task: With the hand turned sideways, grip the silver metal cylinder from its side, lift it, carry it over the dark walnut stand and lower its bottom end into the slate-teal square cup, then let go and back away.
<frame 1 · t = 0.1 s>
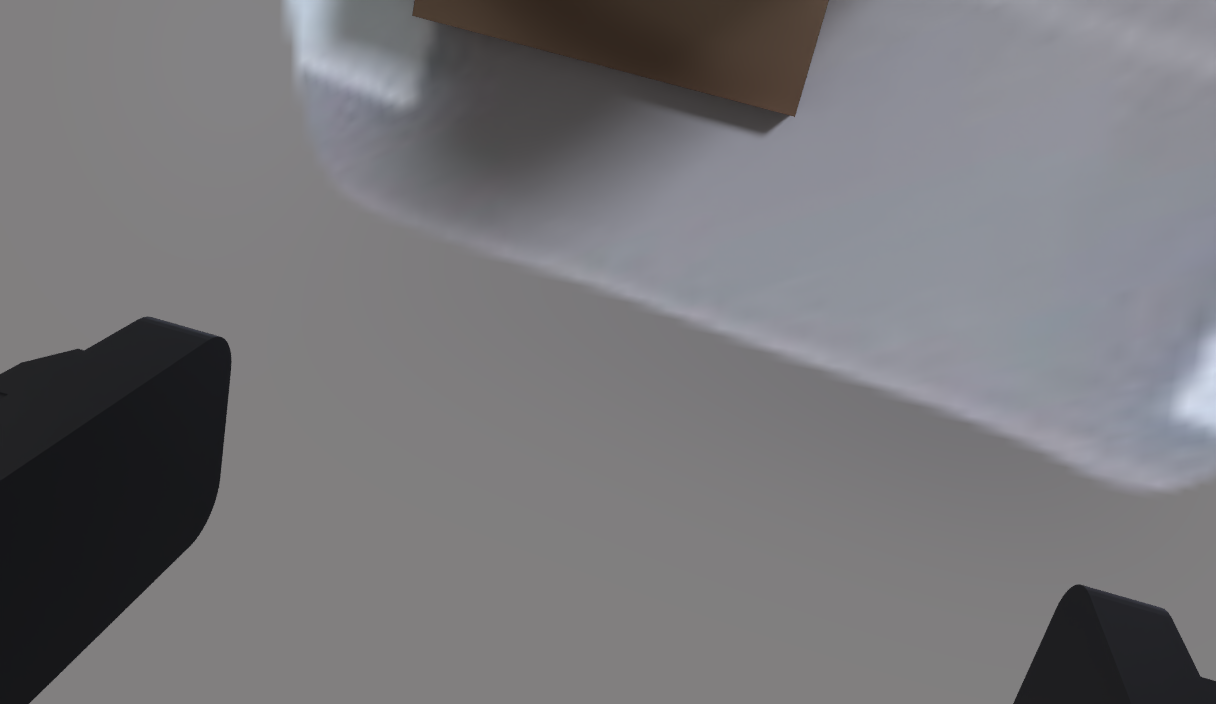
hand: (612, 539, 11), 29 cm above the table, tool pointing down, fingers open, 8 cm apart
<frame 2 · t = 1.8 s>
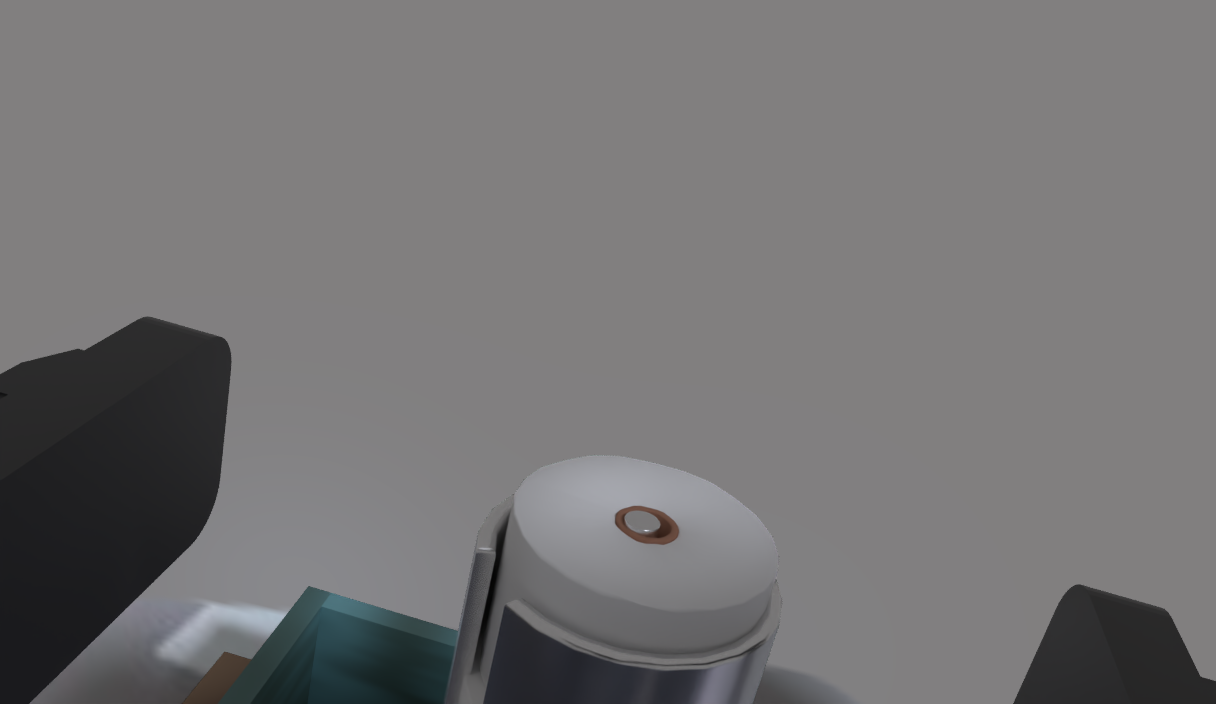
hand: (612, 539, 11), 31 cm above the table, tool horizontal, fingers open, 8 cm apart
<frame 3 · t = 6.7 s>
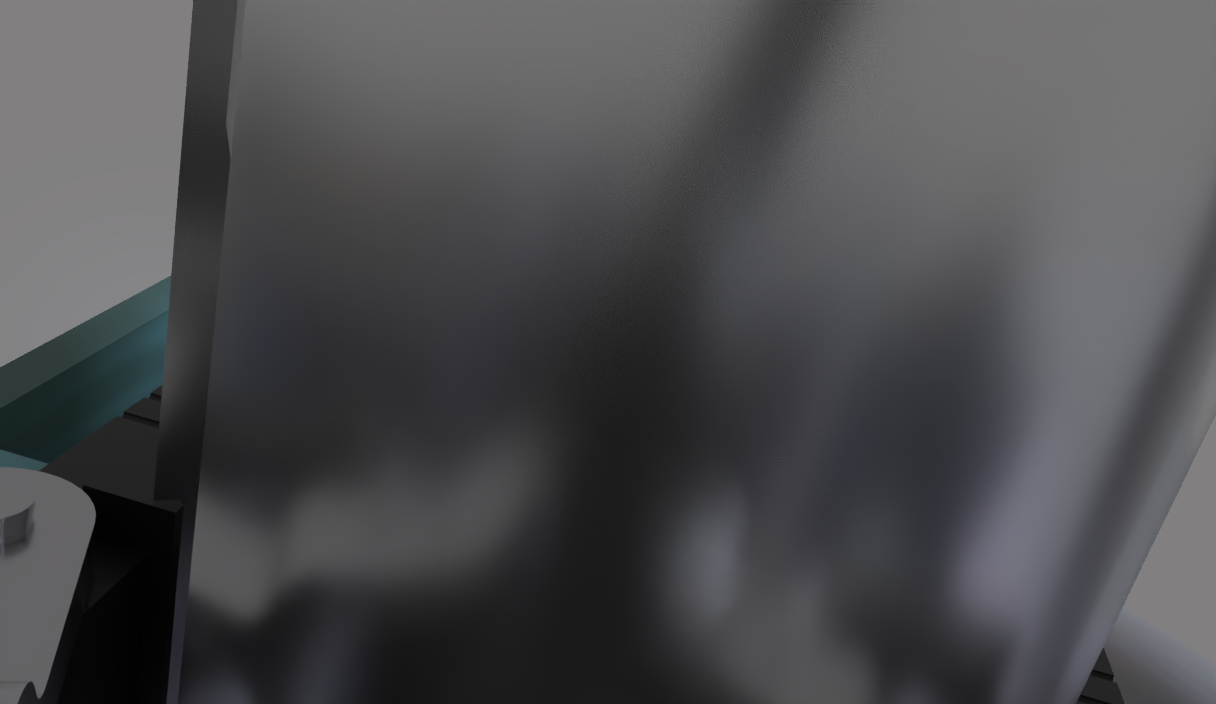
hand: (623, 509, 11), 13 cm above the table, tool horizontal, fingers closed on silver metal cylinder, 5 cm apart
cup stand: (237, 683, 26), on the table
when the fingers open (15 cm above the table, at t = 12.6 s): silver metal cylinder stays where it is, resting on cup stand.
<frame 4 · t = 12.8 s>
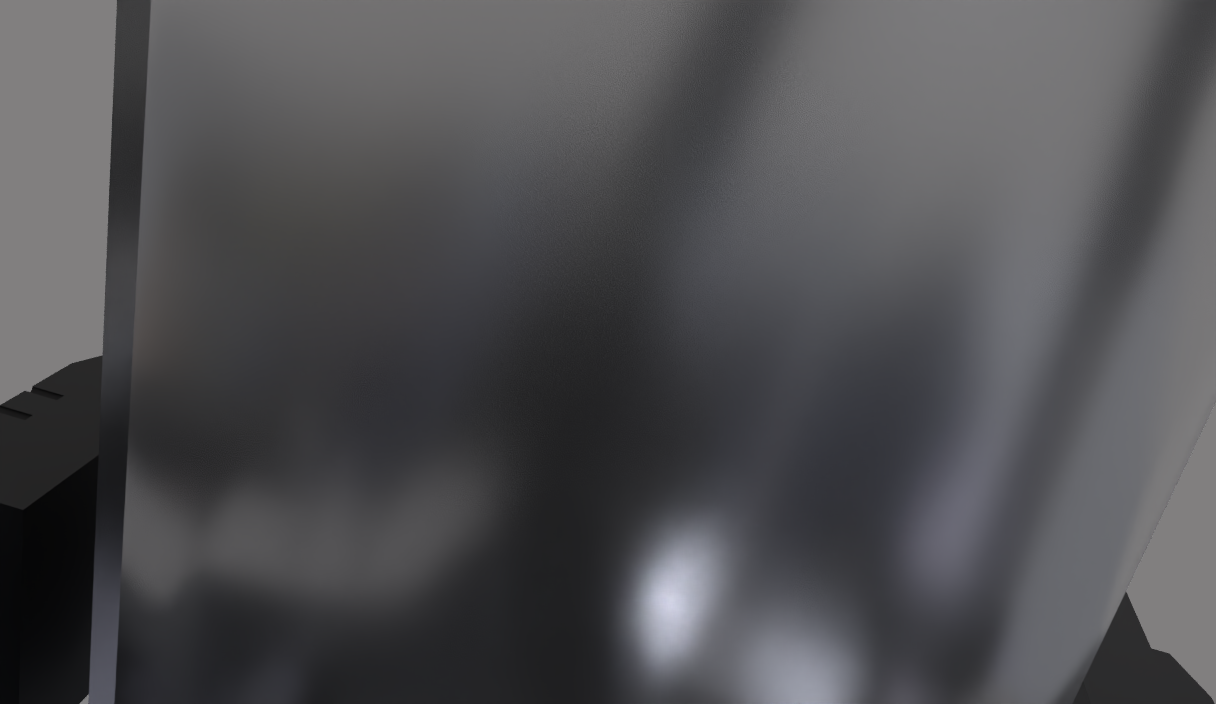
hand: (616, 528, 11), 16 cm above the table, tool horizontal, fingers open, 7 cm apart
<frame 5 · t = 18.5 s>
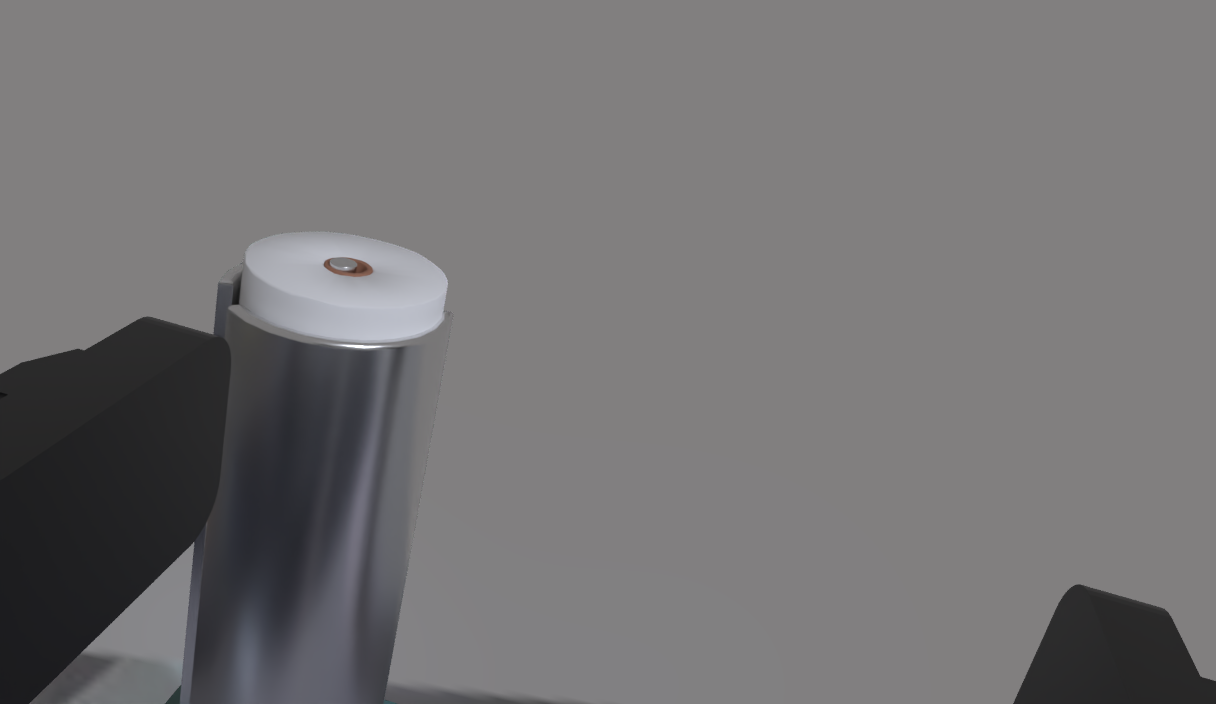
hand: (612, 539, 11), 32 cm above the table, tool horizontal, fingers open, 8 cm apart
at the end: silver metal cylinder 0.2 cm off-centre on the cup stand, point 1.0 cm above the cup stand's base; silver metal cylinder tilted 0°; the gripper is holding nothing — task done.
